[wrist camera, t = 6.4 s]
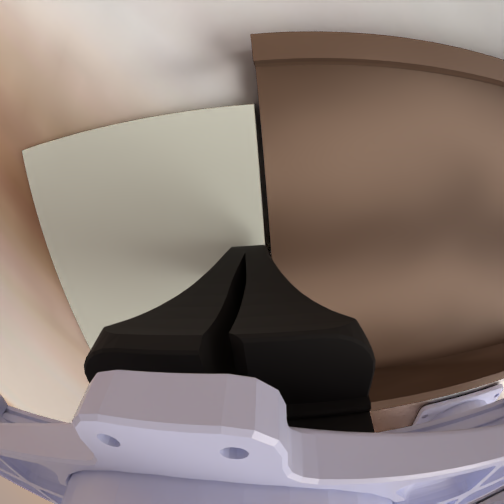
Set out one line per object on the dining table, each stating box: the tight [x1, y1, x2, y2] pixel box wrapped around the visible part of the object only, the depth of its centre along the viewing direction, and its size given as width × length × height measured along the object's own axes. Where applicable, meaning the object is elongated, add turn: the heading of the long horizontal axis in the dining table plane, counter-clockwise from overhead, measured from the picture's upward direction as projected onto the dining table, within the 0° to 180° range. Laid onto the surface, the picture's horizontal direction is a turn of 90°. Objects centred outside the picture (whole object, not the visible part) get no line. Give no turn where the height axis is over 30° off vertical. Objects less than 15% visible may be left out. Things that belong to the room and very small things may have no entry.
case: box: [251, 32, 504, 411], centre depth 11 cm, size 16×20×3 cm
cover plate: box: [22, 104, 266, 350], centre depth 14 cm, size 12×10×2 cm
